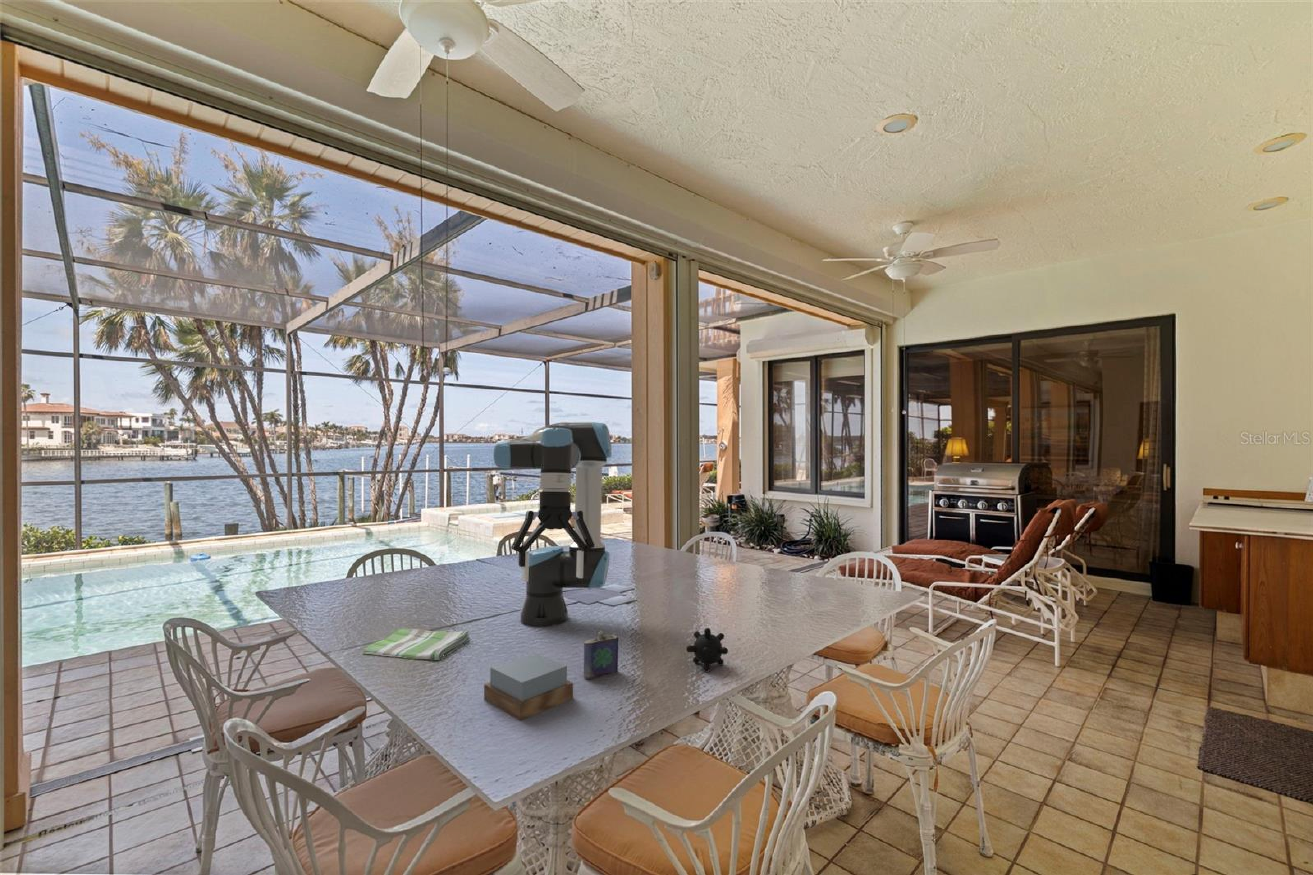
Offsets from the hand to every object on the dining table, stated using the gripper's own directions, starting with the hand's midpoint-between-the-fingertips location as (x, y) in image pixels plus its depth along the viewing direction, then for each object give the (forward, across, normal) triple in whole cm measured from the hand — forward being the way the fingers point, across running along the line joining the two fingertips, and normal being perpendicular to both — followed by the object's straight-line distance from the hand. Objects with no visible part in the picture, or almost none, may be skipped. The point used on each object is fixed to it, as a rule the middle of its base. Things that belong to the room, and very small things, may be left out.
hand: (553, 579), depth 136 cm
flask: (+24, +13, +1) cm, 28 cm away
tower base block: (+26, -6, -4) cm, 27 cm away
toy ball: (+24, +39, -7) cm, 46 cm away
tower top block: (+22, -7, -5) cm, 24 cm away
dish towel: (+23, -25, +42) cm, 54 cm away
